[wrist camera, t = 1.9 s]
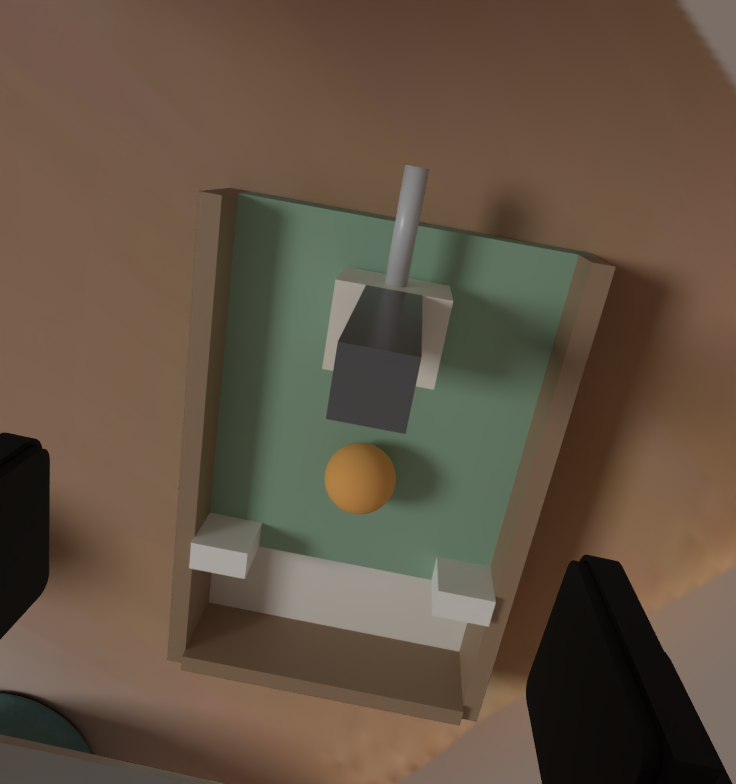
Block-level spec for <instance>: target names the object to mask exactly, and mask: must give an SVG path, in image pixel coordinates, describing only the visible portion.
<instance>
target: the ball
mask: <svg viewBox="0 0 736 784" xmlns="http://www.w3.org/2000/svg"><path fill="white" fill-rule="evenodd" d="M395 483H396V474H395V469H394V466H393V463H392V461H391V460H390V458H389V457H388V455H387V454H386V453H385V452H384V451H383V450H381V449H380V448H378V447H376V446H374V445H372V444H368V443H352V444H349V445H346V446H344V447H342V448H341V449H339V450H338V451H337V452H336V453H335V454H334V455H333V456H332V457H331V459H330V460H329V462H328V464H327V467H326V471H325V487H326V490H327V493H328V495H329V497H330V498H331V500H332V501H333V502H334V503H335V504H336V505H337V506H338V507H339V508H341V509H342V510H344V511H346V512H349V513H352V514H368V513H371V512H374V511H376V510H378V509H380V508H381V507H382V506H384V505H385V504H386V503H387V501H388V500H389V499H390V497H391V495H392V493H393V491H394V488H395Z"/></svg>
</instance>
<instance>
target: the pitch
mask: <svg viewBox="0 0 736 784" xmlns="http://www.w3.org/2000/svg"><path fill="white" fill-rule="evenodd" d="M395 220H396V218H393V217H388V216H382V215H376V214H371V213H365V212H360V211H354V210H349V209H343V208H338V207H332V206H327V205H321V204H316V203H310V202H305V201H299V200H294V199H288V198H283V197H277V196H272V195H266V194H261V193H255V192H249V191H244V190H238V189H233V188H225V189H215V190H206V191H199V199H198V214H197V229H196V243H195V258H194V273H193V288H192V303H191V317H190V332H189V347H188V362H187V376H186V391H185V406H184V421H183V435H182V450H181V465H180V480H179V494H178V509H177V524H176V539H175V554H174V568H173V583H172V598H171V613H170V627H169V642H168V657H167V660H170V661H175V662H180V663H182V665H181V670H184V671H189V672H194V673H199V674H204V675H209V676H214V677H219V678H224V679H229V680H234V681H239V682H244V683H249V684H254V685H259V686H264V687H269V688H274V689H279V690H284V691H289V692H294V693H299V694H304V695H309V696H314V697H319V698H324V699H329V700H334V701H339V702H344V703H349V704H354V705H359V706H364V707H369V708H374V709H379V710H384V711H389V712H394V713H399V714H404V715H409V716H414V717H419V718H424V719H429V720H434V721H439V722H444V723H449V724H454V725H459V726H460V723H461V719H466V720H471V721H476V722H477V718H478V715H479V712H480V709H481V705H482V702H483V699H484V696H485V692H486V689H487V686H488V682H489V679H490V676H491V673H492V669H493V666H494V663H495V660H496V656H497V653H498V650H499V647H500V643H501V640H502V637H503V634H504V630H505V627H506V624H507V621H508V617H509V614H510V611H511V607H512V604H513V601H514V598H515V594H516V591H517V588H518V585H519V581H520V578H521V575H522V572H523V568H524V565H525V562H526V559H527V555H528V552H529V549H530V546H531V542H532V539H533V536H534V532H535V529H536V526H537V523H538V519H539V516H540V513H541V510H542V506H543V503H544V500H545V497H546V493H547V490H548V487H549V484H550V480H551V477H552V474H553V471H554V467H555V464H556V461H557V458H558V454H559V451H560V448H561V444H562V441H563V438H564V435H565V431H566V428H567V425H568V422H569V418H570V415H571V412H572V409H573V405H574V402H575V399H576V396H577V392H578V389H579V386H580V383H581V379H582V376H583V373H584V369H585V366H586V363H587V360H588V356H589V353H590V350H591V347H592V343H593V340H594V337H595V334H596V330H597V327H598V324H599V321H600V317H601V314H602V311H603V308H604V304H605V301H606V298H607V294H608V291H609V288H610V285H611V281H612V278H613V275H614V272H615V268H616V267H615V266H613V265H611V264H610V263H608V262H606V261H604V260H602V259H600V258H598V257H596V256H594V255H592V254H590V253H586V252H581V251H575V250H570V249H564V248H559V247H553V246H548V245H542V244H537V243H531V242H526V241H520V240H515V239H509V238H504V237H498V236H492V235H487V234H481V233H476V232H470V231H465V230H459V229H454V228H448V227H443V226H437V225H432V224H426V223H421V222H419V225H418V231H417V236H416V241H415V246H414V252H413V257H412V262H411V267H410V273H409V278H411V279H417V280H422V281H427V282H433V283H438V284H444V285H449V286H450V288H451V293H452V297H453V305H452V309H451V314H450V318H449V323H448V328H447V332H446V337H445V341H444V346H443V350H442V355H441V360H440V364H439V369H438V373H437V378H436V382H435V387H434V390H432V389H427V388H422V387H415V392H414V396H413V401H412V406H411V411H410V416H409V421H408V425H407V430H406V434H402V433H397V432H392V431H387V430H381V429H376V428H371V427H365V426H360V425H355V424H350V423H344V422H339V421H334V420H328V419H326V414H327V407H328V401H329V395H330V388H331V382H332V375H333V371H331V370H325V369H322V366H323V359H324V353H325V346H326V339H327V333H328V326H329V319H330V312H331V306H332V299H333V292H334V286H335V279H336V278H337V277H338V276H339V274H340V273H341V272H342V270H343V269H344V268H345V267H351V268H357V269H362V270H367V271H373V272H378V273H384V274H386V271H387V265H388V259H389V254H390V248H391V243H392V237H393V231H394V226H395ZM352 443H368V444H372V445H374V446H376V447H378V448H380V449H381V450H383V451H384V452H385V453H386V454H387V455H388V457H389V458H390V460H391V461H392V463H393V466H394V469H395V474H396V483H395V488H394V491H393V493H392V495H391V497H390V499H389V500H388V501H387V503H386V504H385V505H384V506H382V507H381V508H380V509H378V510H376V511H374V512H371V513H368V514H352V513H349V512H346V511H344V510H342V509H341V508H339V507H338V506H337V505H336V504H335V503H334V502H333V501H332V500H331V498H330V497H329V495H328V493H327V490H326V487H325V471H326V467H327V464H328V462H329V460H330V459H331V457H332V456H333V455H334V454H335V453H336V452H337V451H338V450H339V449H341V448H342V447H344V446H346V445H349V444H352Z"/></svg>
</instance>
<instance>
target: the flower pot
mask: <svg viewBox="0 0 736 784" xmlns="http://www.w3.org/2000/svg"><path fill="white" fill-rule="evenodd" d="M0 734H1V735H5V736H10V737H15V738H19V739H24V740H29V741H33V742H38V743H43V744H47V745H52V746H57V747H61V748H66V749H71V750H75V751H80V752H84V753H89V754H91V753H90V751H89V748H88V746H87V744H86V743H85V741H84V739H83V738H82V736H81V735H80V734H79V732H78V731H77V730H76V729H75V728H74V727H73V726H72V725H71V724H70V723H69V722H68V721H67V720H66V719H65V718H63V717H62V716H60V715H59V714H58V713H56V712H54V711H53V710H51V709H49V708H48V707H46V706H44V705H42V704H40V703H38V702H35V701H33V700H30V699H27V698H24V697H20V696H16V695H11V694H5V693H0Z"/></svg>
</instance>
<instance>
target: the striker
mask: <svg viewBox="0 0 736 784" xmlns="http://www.w3.org/2000/svg"><path fill="white" fill-rule="evenodd" d="M428 173H429V169H426V168H420V167H415V166H409V165H405V169H404V175H403V180H402V186H401V192H400V197H399V203H398V209H397V214H396V220H395V226H394V231H393V237H392V243H391V248H390V254H389V259H388V265H387V271H386V274H384V273H378V272H373V271H367V270H362V269H357V268H351V267H345V268H344V269H343V270H342V272H341V273H340V274H339V276H338V277H337V278H336V279H335V286H334V292H333V299H332V306H331V312H330V319H329V326H328V333H327V339H326V346H325V353H324V359H323V366H322V369H325V370H331V371H333V375H332V382H331V388H330V395H329V401H328V407H327V414H326V419H328V420H334V421H339V422H344V423H350V424H355V425H360V426H365V427H371V428H376V429H381V430H387V431H392V432H397V433H402V434H406V430H407V425H408V421H409V416H410V411H411V406H412V401H413V396H414V392H415V387H422V388H427V389H432V390H434V387H435V382H436V378H437V373H438V369H439V364H440V360H441V355H442V350H443V346H444V341H445V337H446V332H447V328H448V323H449V318H450V314H451V309H452V305H453V297H452V293H451V288H450V286H449V285H444V284H438V283H433V282H427V281H422V280H417V279H411V278H409V273H410V267H411V262H412V257H413V252H414V246H415V241H416V236H417V231H418V225H419V220H420V215H421V210H422V204H423V199H424V194H425V189H426V183H427V178H428Z"/></svg>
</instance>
